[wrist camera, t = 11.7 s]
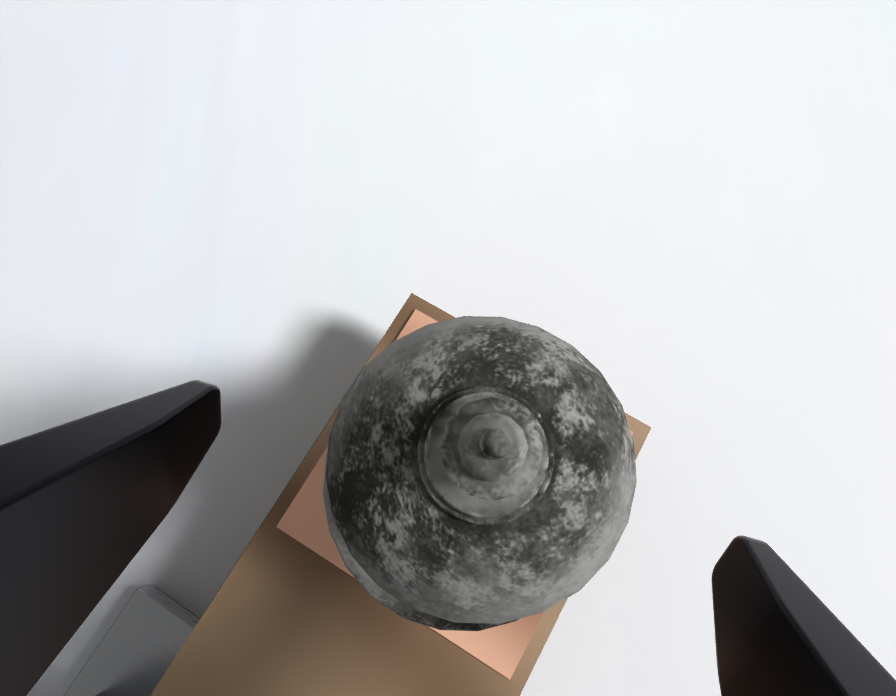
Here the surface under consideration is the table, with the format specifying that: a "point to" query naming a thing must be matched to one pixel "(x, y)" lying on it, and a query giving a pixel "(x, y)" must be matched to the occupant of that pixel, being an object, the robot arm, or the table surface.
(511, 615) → the grey rounded piece
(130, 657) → the beam stand
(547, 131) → the table surface
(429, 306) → the beam
